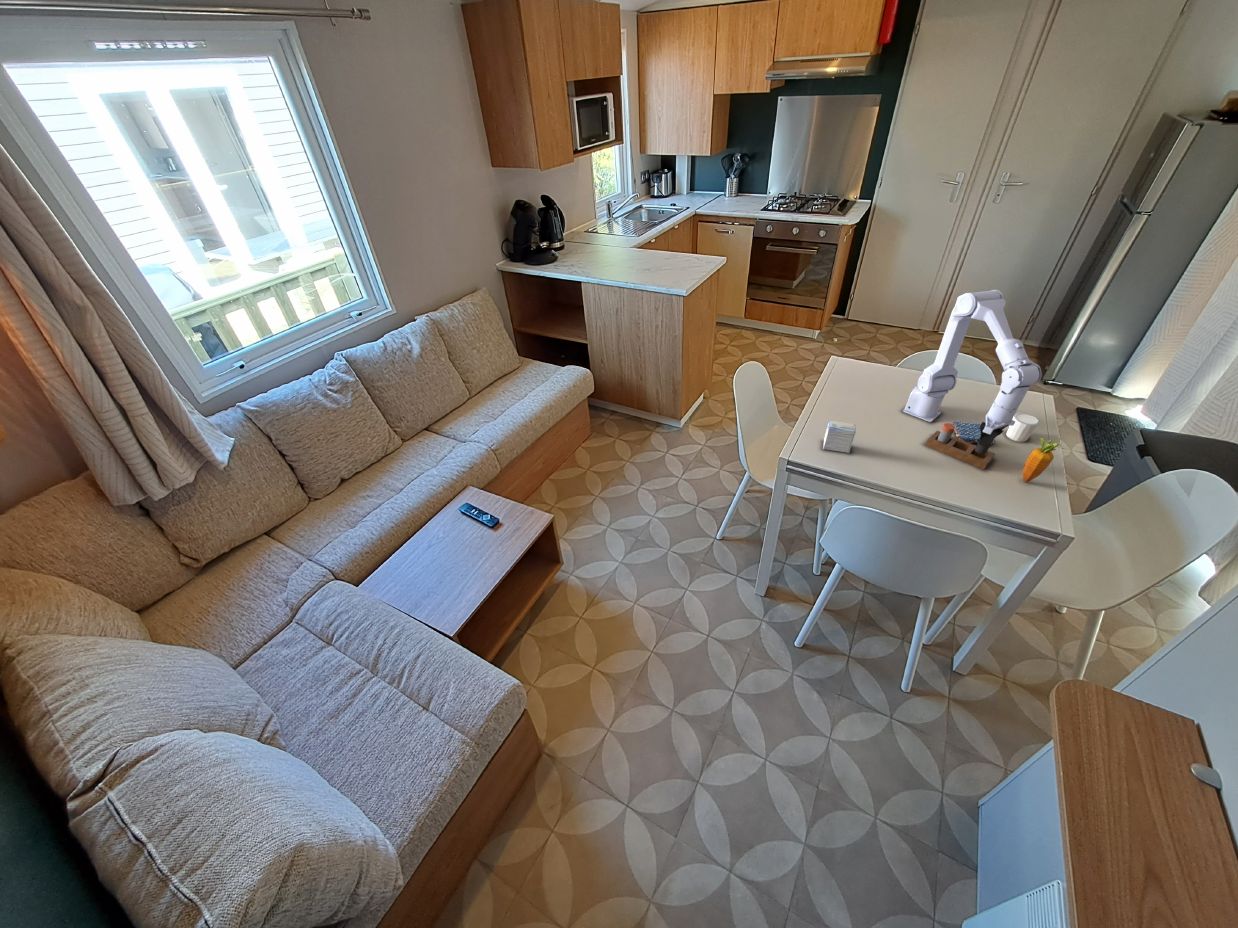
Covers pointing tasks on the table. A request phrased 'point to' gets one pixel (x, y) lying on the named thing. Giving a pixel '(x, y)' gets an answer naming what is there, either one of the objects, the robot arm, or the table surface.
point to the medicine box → (839, 436)
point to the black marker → (982, 448)
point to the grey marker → (946, 433)
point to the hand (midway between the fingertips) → (985, 442)
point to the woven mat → (968, 432)
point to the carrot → (1038, 461)
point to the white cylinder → (1022, 427)
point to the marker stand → (961, 450)
